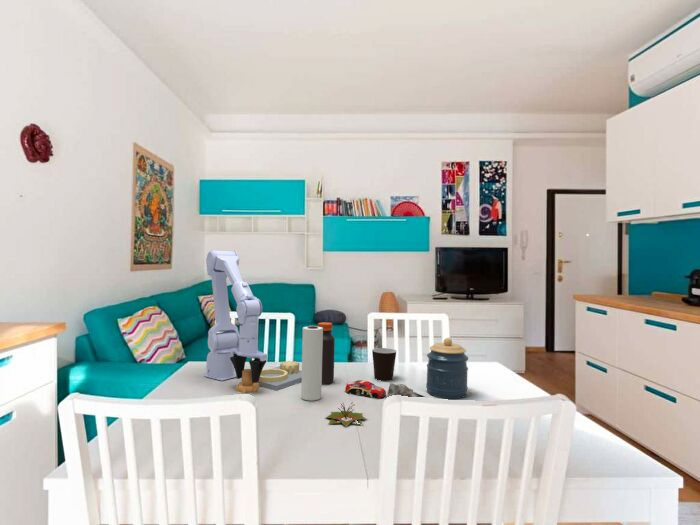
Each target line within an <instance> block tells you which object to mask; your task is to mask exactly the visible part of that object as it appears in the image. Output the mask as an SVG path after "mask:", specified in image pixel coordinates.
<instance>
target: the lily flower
mask: <svg viewBox="0 0 700 525" xmlns="http://www.w3.org/2000/svg"><path fill="white" fill-rule="evenodd" d="M355 405H356V404H353V402H351V403H350V405H349V406H348V408H347V410H346V407H345V406H346V405H345V403H344V401H343V402H342V403H340V408H339V407H338V408H337V409H338V410H339V411H330V413H331V414H328V415H327V416H325V417H324V418H325V419H330V420H329V422H328V425H332V424H342V425H344V427H345V428H347V427H348V426H349V425H359V424H357V423H356V422H353V421H355V420H357V421H358V423H360V424H362V425H363V426H364V424H363V421H361V420H366V419H367V418H366V417H364V416H363V414H364V413H362V412H354V409H353V406H354V407H355ZM351 418H352V419H351ZM347 419H348V420H347ZM349 419H350V420H349ZM355 423H356V424H355ZM362 425H361V426H362ZM359 426H360V425H359Z"/></svg>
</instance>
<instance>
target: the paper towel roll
mask: <svg viewBox="0 0 700 525" xmlns="http://www.w3.org/2000/svg"><path fill="white" fill-rule="evenodd" d="M301 343H302V344H301V347H302V349H301V350H302V351H301V371H302V382H300V383H301V387H300V388H301V389H300V390H301V392H300V398H301V399H302V400H305V401H312V402H313V401H318V400H320V399H321V398H322V389H323V388H322V385H323V384H322V346H323V328H322V327H318V325H310V324H309V326H303V327H302V342H301Z"/></svg>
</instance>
